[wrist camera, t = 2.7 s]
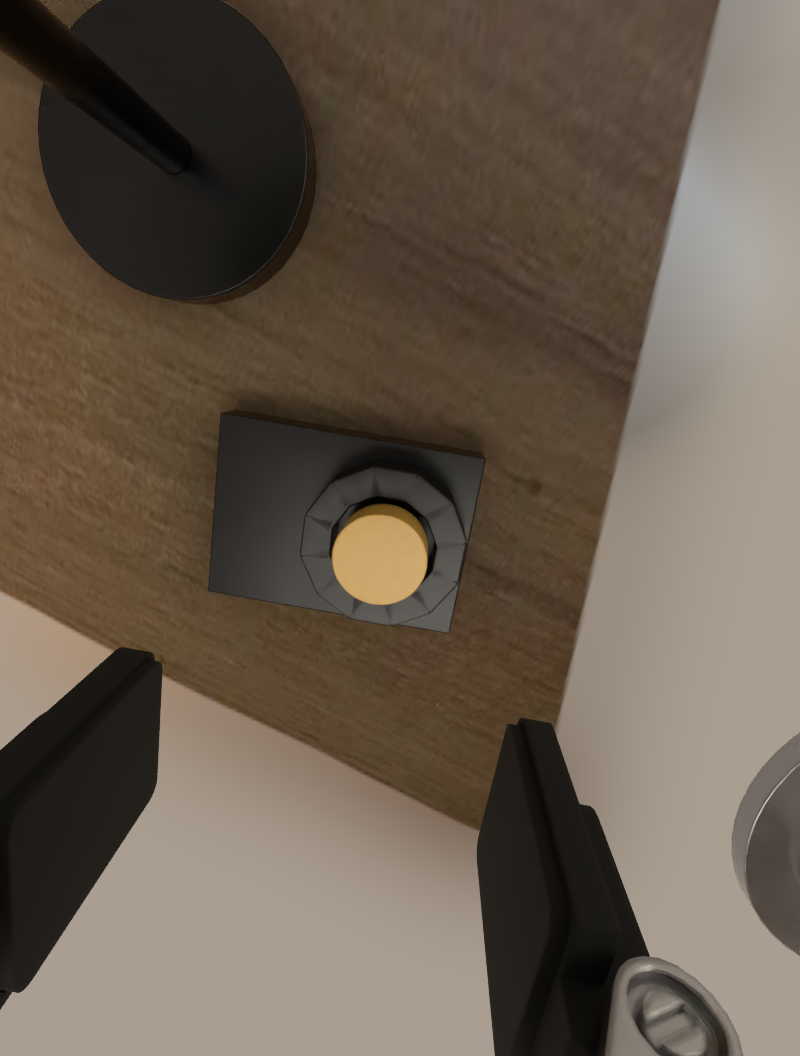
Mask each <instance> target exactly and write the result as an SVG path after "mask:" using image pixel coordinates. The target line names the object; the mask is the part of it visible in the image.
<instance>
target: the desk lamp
mask: <svg viewBox="0 0 800 1056" xmlns="http://www.w3.org/2000/svg"><path fill="white" fill-rule="evenodd" d="M0 50H1V51H2V52H4V53H5V54H6V55H8V56H9V57H10V58H12V59H13V60H14V61H16V62H17V63H18V64H20V65H21V66H23V67H24V68H25V69H27V70H28V71H29V72H31V73H32V74H33V75H35V76H36V77H37V78H39V79H40V80H41V81H43V82H44V84H43V88H42V93H41V99H40V106H39V120H38V134H39V148H40V155H41V160H42V166H43V171H44V174H45V178H46V181H47V184H48V188H49V191H50V193H51V195H52V198H53V200H54V203H55V205H56V207H57V210H58V211H59V213H60V215H61V217H62V219H63V221H64V222H65V224H66V226H67V227H68V229H69V230H70V232H71V233H72V235H73V236H74V237H75V239H76V240H77V242H78V243H79V244H80V245H81V247H82V248H83V249H84V250H85V251H86V252H87V253H88V255H89V256H90V257H91V258H92V259H93V260H95V261H96V262H97V263H98V264H99V265H100V266H101V267H102V268H103V269H104V270H106V271H107V272H109V273H110V274H111V275H113V276H114V277H116V278H117V279H118V280H120V281H122V282H124V283H126V284H127V285H129V286H131V287H133V288H135V289H137V290H140V291H143V292H145V293H148V294H150V295H154V296H158V297H161V298H165V299H169V300H173V301H177V302H181V303H189V304H215V303H220V302H225V301H230V300H233V299H235V298H238V297H241V296H244V295H246V294H248V293H249V292H251V291H253V290H255V289H257V288H258V287H260V286H261V285H263V284H264V283H265V282H267V281H268V280H269V279H271V278H272V277H273V276H274V275H275V274H276V273H277V272H278V271H279V270H280V269H281V268H282V267H283V265H284V264H285V263H286V261H287V260H288V259H289V258H290V256H291V255H292V253H293V252H294V250H295V248H296V247H297V245H298V243H299V242H300V240H301V237H302V235H303V233H304V230H305V228H306V226H307V223H308V219H309V216H310V213H311V209H312V205H313V199H314V193H315V182H316V160H315V148H314V142H313V137H312V131H311V128H310V124H309V121H308V118H307V114H306V111H305V109H304V106H303V104H302V102H301V99H300V97H299V95H298V92H297V90H296V88H295V86H294V84H293V82H292V80H291V78H290V76H289V74H288V72H287V70H286V68H285V67H284V65H283V63H282V61H281V60H280V58H279V56H278V54H277V53H276V52H275V50H274V49H273V48H272V46H271V45H270V44H269V42H268V41H267V40H266V38H265V37H264V36H263V35H262V34H261V33H260V32H259V31H258V30H257V28H256V27H255V26H254V25H253V24H252V23H251V22H250V21H249V20H247V19H246V18H245V17H244V16H242V15H241V14H240V13H239V12H237V11H236V10H235V9H234V8H232V7H230V6H229V5H227V4H225V3H224V2H222V1H220V0H102V1H100V2H99V3H97V4H96V5H94V6H93V7H91V8H90V9H89V10H88V11H87V12H86V13H84V14H83V15H82V16H81V17H80V18H79V19H78V20H77V21H76V22H75V23H74V25H73V26H72V27H71V28H70V29H69V28H68V27H67V26H66V25H65V24H64V23H62V22H61V21H60V20H59V19H58V18H57V17H56V16H55V15H54V14H53V13H52V12H51V11H50V10H49V9H48V8H47V7H45V6H44V5H43V4H42V3H41V2H40V1H39V0H0Z"/></svg>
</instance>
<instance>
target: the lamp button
mask: <svg viewBox="0 0 800 1056" xmlns="http://www.w3.org/2000/svg"><path fill="white" fill-rule="evenodd" d="M427 564H428V542H427V537H426V533H425V531H424V529H423V527H422V525H421V524H420V522H419V521H418V520H417V518H416V517H415V516H413V515H412V514H411V513H410V512H408V511H407V510H405V509H403V508H401V507H399V506H396V505H392V504H385V503H382V504H372V505H369V506H366V507H363V508H361V509H359V510H358V511H356V512H355V513H354V514H352V515H351V516H350V517H349V519H348V520H347V521H346V523H345V524H344V526H343V528H342V529H341V531H340V533H339V535H338V536H337V538H336V540H335V543H334V546H333V550H332V566H333V571H334V573H335V576H336V578H337V580H338V582H339V583H340V585H341V586H342V587H343V588H344V589H345V590H346V591H347V592H348V593H349V594H350V595H352V596H353V597H355V598H356V599H358V600H360V601H363V602H366V603H369V604H375V605H387V604H393V603H396V602H399V601H401V600H403V599H405V598H407V597H408V596H410V595H411V594H412V593H413V592H415V591H416V590H417V588H418V587H419V586H420V584H421V583H422V581H423V579H424V577H425V574H426V570H427Z"/></svg>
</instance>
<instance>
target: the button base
mask: <svg viewBox="0 0 800 1056" xmlns="http://www.w3.org/2000/svg"><path fill="white" fill-rule="evenodd" d="M485 461H486V459H485V457H484V455H483V454H482V453H481V452H475V451H469V450H464V449H458V448H452V447H446V446H441V445H435V444H429V443H423V442H418V441H412V440H406V439H400V438H395V437H389V436H383V435H377V434H372V433H366V432H360V431H354V430H348V429H343V428H337V427H331V426H325V425H320V424H314V423H308V422H302V421H297V420H291V419H285V418H279V417H274V416H268V415H262V414H256V413H251V412H245V411H239V410H233V411H228V412H223V413H221V418H220V432H219V446H218V460H217V474H216V488H215V502H214V516H213V530H212V544H211V559H210V573H209V587H208V591H211V592H217V593H222V594H228V595H234V596H239V597H245V598H251V599H256V600H262V601H268V602H273V603H279V604H285V605H290V606H296V607H302V608H307V609H313V610H319V611H324V612H330V613H336V614H341V615H345V616H347V617H348V618H350V619H353V620H359V621H364V622H370V623H376V624H381V625H387V626H393V625H396V624H398V625H404V626H409V627H415V628H421V629H426V630H432V631H438V632H443V633H449V632H450V627H451V622H452V617H453V613H454V608H455V603H456V598H457V594H458V589H459V584H460V579H461V575H462V570H463V565H464V560H465V556H466V551H467V546H468V542H469V537H470V532H471V527H472V523H473V518H474V513H475V508H476V504H477V499H478V494H479V489H480V485H481V480H482V475H483V471H484V466H485ZM382 503H385V504H392V505H396V506H399V507H401V508H403V509H405V510H407V511H408V512H410V513H411V514H412V515H413V516H415V517H416V518H417V520H418V521H419V522H420V524H421V525H422V527H423V529H424V531H425V533H426V537H427V542H428V564H427V570H426V574H425V577H424V579H423V581H422V583H421V584H420V586H419V587H418V588H417V590H416V591H415V592H413V593H412V594H411V595H410V596H408V597H407V598H405V599H403V600H401V601H399V602H396V603H393V604H387V605H375V604H369V603H366V602H363V601H360V600H358V599H356V598H355V597H353V596H352V595H350V594H349V593H348V592H347V591H346V590H345V589H344V588H343V587H342V586H341V585H340V583H339V582H338V580H337V578H336V576H335V573H334V571H333V566H332V550H333V546H334V543H335V540H336V538H337V536H338V535H339V533H340V531H341V529H342V528H343V526H344V524H345V523H346V521H347V520H348V519H349V517H350V516H351V515H352V514H354V513H355V512H356V511H358V510H359V509H361V508H363V507H366V506H369V505H372V504H382Z"/></svg>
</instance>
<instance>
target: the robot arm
mask: <svg viewBox="0 0 800 1056" xmlns="http://www.w3.org/2000/svg"><path fill="white" fill-rule="evenodd" d="M161 687H162V664H161V663H160V662H157V661H155V658H154V655H153V654H152V653H151V652H147V651H141V650H135V649H130V648H124V647H121V648H119V649H117V650H116V651H114V652H113V653H112V654H111V655H110V656H109V657H108V658H107V659H106V660H104V661H103V662H102V663H101V664H100V665H99V666H98V667H96V668H95V669H94V670H93V671H92V672H91V673H90V674H89V675H87V676H86V677H85V678H84V679H83V680H82V681H81V682H80V683H78V684H77V685H76V686H75V687H74V688H73V689H72V690H71V691H69V692H68V693H67V694H66V695H65V696H64V697H63V698H62V699H60V700H59V701H58V702H57V703H56V704H55V705H54V706H53V707H51V708H50V709H49V710H48V711H47V712H45V713H43V714H42V715H40V716H39V717H38V718H36V719H35V720H34V721H33V722H32V723H31V724H30V725H28V726H27V727H26V728H25V729H24V730H23V731H22V732H20V733H19V734H18V735H17V736H16V737H15V738H14V739H13V740H11V741H10V742H9V743H8V744H7V745H6V746H5V747H3V748H2V749H1V750H0V1009H1V1008H2V1006H3V1005H4V1003H5V1002H6V1000H7V999H8V997H9V996H10V994H11V993H12V992H16V993H19V992H21V991H23V990H24V989H25V988H26V987H27V986H28V985H29V983H30V982H31V981H32V979H33V978H34V976H35V975H36V973H37V971H38V970H39V968H40V967H41V965H42V964H43V962H44V961H45V959H46V958H47V956H48V955H49V953H50V952H51V950H52V949H53V947H54V946H55V944H56V943H57V941H58V940H59V938H60V936H61V935H62V933H63V932H64V930H65V929H66V927H67V926H68V924H69V923H70V921H71V920H72V918H73V916H74V915H75V914H76V912H77V910H78V909H79V908H80V906H81V904H82V903H83V901H84V900H85V898H86V897H87V895H88V894H89V892H90V891H91V889H92V888H93V886H94V885H95V883H96V882H97V880H98V879H99V877H100V875H101V874H102V872H103V871H104V869H105V868H106V866H107V865H108V863H109V861H110V860H111V859H112V857H113V855H114V854H115V852H116V851H117V850H118V848H119V847H120V845H121V843H122V842H123V840H124V839H125V837H126V836H127V834H128V833H129V831H130V830H131V828H132V827H133V825H134V824H135V822H136V821H137V819H138V817H139V816H140V814H141V813H142V811H143V810H144V808H145V807H146V805H147V804H148V802H149V801H150V799H151V797H152V795H153V793H154V790H155V786H156V783H157V772H158V750H159V730H160V708H161ZM477 865H478V875H479V886H480V898H481V909H482V920H483V931H484V942H485V952H486V963H487V974H488V985H489V996H490V1006H491V1018H492V1029H493V1039H494V1051H495V1056H743V1053H742V1049H741V1044H740V1040H739V1036H738V1034H737V1032H736V1030H735V1028H734V1026H733V1024H732V1022H731V1020H730V1018H729V1017H728V1014H727V1013H726V1012H725V1011H724V1009H723V1008H722V1007H721V1005H720V1004H719V1002H717V1000H716V999H715V997H714V996H713V995H712V994H711V993H710V992H709V991H708V990H707V989H706V988H705V987H704V986H703V985H702V984H701V983H700V982H699V981H698V980H697V979H696V978H694V977H693V976H691V975H690V974H688V973H686V972H685V971H684V970H682V969H681V968H679V967H678V966H676V965H674V964H672V963H669V962H667V961H664V960H662V959H659V958H653V957H650V956H649V953H648V950H647V948H646V945H645V942H644V940H643V937H642V934H641V932H640V929H639V926H638V923H637V921H636V918H635V915H634V913H633V910H632V907H631V905H630V902H629V899H628V897H627V894H626V891H625V888H624V886H623V883H622V880H621V878H620V875H619V872H618V870H617V867H616V864H615V861H614V859H613V856H612V853H611V851H610V848H609V846H608V843H607V840H606V837H605V835H604V832H603V829H602V826H601V824H600V821H599V818H598V816H597V814H596V812H595V810H594V809H593V808H592V807H591V806H587V805H581V804H579V802H578V799H577V796H576V793H575V790H574V787H573V785H572V781H571V778H570V775H569V772H568V769H567V767H566V764H565V761H564V758H563V755H562V752H561V749H560V746H559V743H558V741H557V737H556V734H555V731H554V728H553V726H552V724H551V723H548V722H542V721H536V720H531V719H525V718H520V719H519V721H518V723H517V725H513V724H509V725H508V726H507V728H506V732H505V736H504V740H503V743H502V747H501V751H500V755H499V759H498V763H497V767H496V771H495V774H494V778H493V782H492V786H491V790H490V794H489V798H488V802H487V805H486V809H485V813H484V817H483V821H482V825H481V829H480V833H479V837H478V843H477Z"/></svg>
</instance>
